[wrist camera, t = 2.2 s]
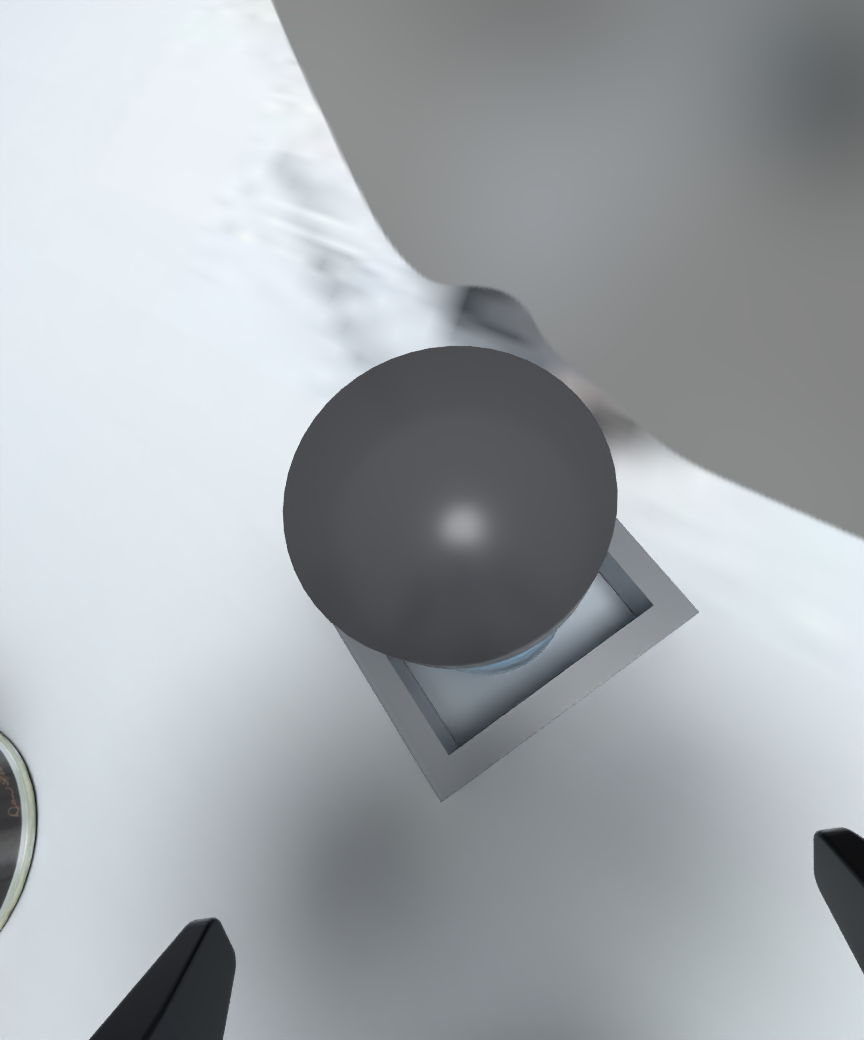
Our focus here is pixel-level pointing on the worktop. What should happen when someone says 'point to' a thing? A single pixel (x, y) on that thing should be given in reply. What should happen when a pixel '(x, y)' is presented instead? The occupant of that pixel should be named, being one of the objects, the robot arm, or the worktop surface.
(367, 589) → the blue-grey upright cylinder
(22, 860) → the coffee can
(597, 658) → the cartridge housing
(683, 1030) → the worktop surface
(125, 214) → the worktop surface
